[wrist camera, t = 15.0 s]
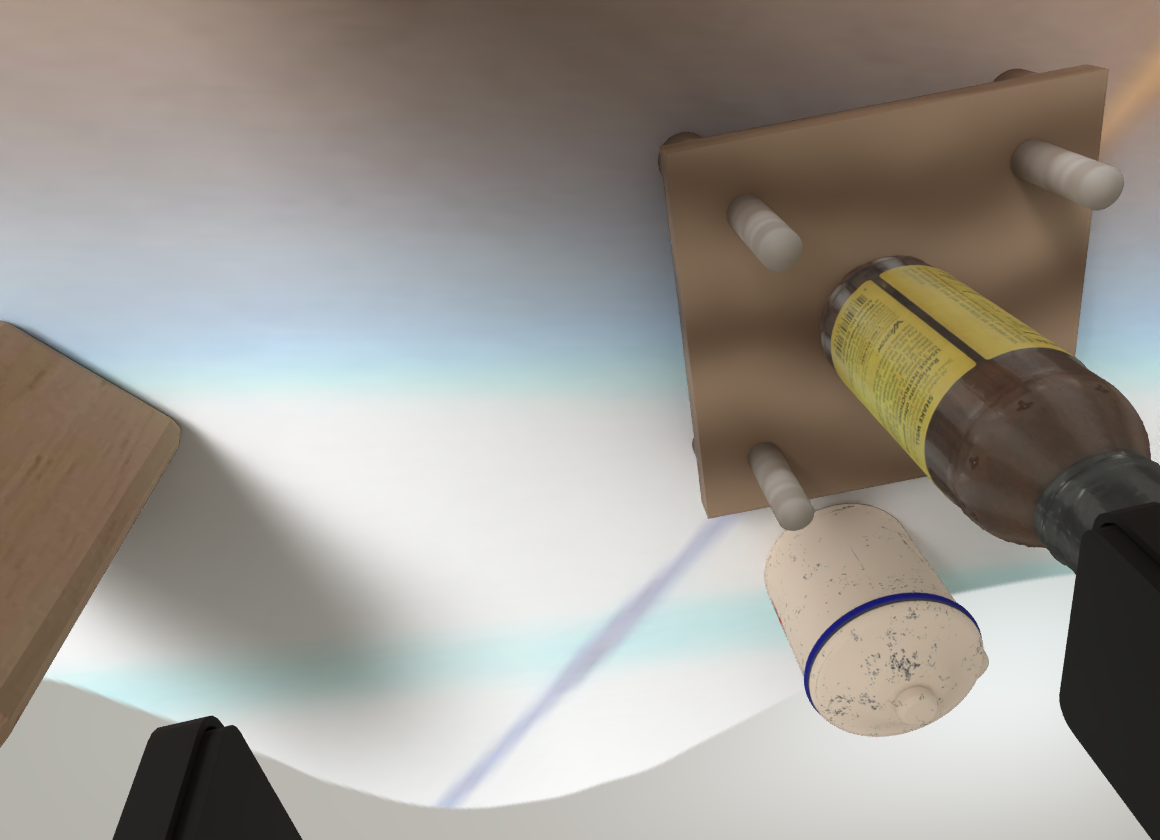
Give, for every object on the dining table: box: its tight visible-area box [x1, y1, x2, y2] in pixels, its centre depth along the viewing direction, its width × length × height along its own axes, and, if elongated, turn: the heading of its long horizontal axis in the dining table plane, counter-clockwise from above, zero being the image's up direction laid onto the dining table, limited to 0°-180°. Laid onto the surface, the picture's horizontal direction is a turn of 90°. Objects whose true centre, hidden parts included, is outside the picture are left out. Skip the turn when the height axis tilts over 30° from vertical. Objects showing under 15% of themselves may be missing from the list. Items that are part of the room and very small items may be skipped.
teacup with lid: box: [765, 504, 989, 737], centre depth 48 cm, size 12×9×12 cm
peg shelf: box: [658, 64, 1124, 531], centre depth 40 cm, size 18×18×10 cm
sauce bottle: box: [820, 255, 1160, 574], centre depth 31 cm, size 6×6×20 cm
